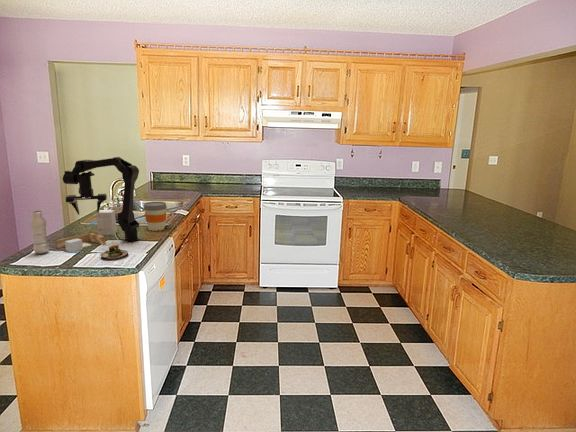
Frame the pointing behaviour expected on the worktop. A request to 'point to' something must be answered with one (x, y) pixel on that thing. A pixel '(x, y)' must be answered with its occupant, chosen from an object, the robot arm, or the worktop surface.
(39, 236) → the plastic bottle
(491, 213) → the worktop surface
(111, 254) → the burger
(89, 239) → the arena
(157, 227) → the reusable coffee cup
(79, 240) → the block
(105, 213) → the small box
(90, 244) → the pad
